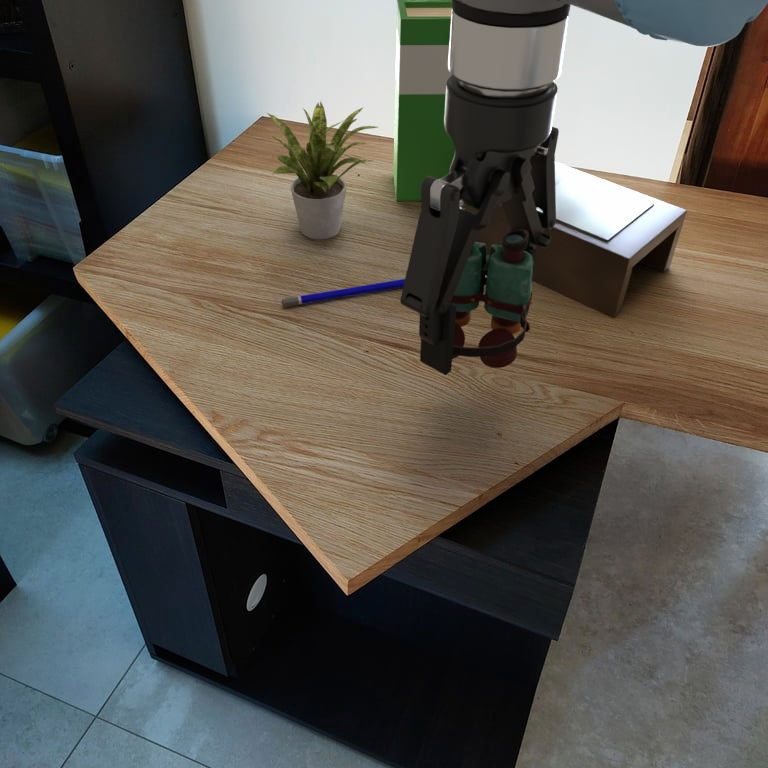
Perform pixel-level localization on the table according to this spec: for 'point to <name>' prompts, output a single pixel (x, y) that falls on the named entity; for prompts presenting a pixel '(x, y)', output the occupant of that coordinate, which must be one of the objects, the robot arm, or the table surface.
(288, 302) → the pencil
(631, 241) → the shelf
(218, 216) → the table surface
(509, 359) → the binoculars
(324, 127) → the house plant
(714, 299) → the table surface
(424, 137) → the hardback book
